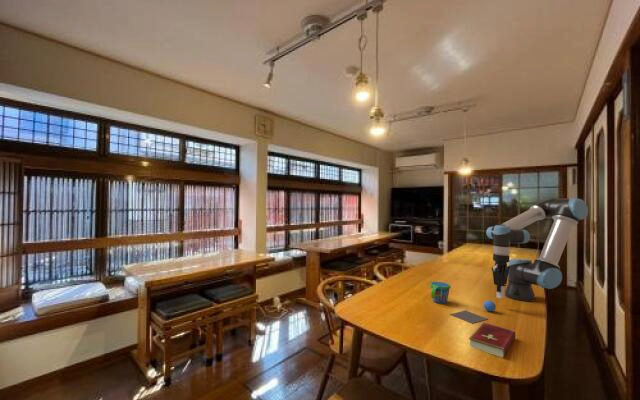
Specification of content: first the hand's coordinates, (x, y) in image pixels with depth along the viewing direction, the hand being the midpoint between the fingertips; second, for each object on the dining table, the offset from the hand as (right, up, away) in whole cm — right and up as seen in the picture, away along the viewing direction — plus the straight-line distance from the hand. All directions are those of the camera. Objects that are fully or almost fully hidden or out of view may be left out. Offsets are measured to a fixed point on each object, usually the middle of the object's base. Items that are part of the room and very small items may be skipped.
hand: (499, 297), depth 154 cm
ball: (-8, -3, -4) cm, 10 cm away
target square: (-23, -5, -12) cm, 27 cm away
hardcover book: (-27, -6, -38) cm, 47 cm away
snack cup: (-29, -6, +9) cm, 30 cm away
